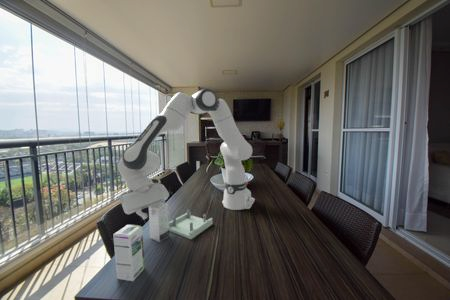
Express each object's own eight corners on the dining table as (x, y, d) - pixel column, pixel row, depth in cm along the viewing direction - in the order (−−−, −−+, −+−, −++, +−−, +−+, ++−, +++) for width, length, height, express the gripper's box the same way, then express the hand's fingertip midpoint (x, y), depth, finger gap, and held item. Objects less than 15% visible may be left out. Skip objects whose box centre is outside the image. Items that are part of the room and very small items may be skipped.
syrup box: (133, 282, 54) (130, 235, 53) (115, 279, 55) (112, 233, 54) (145, 268, 60) (143, 225, 59) (129, 265, 61) (126, 223, 60)
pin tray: (189, 216, 96) (188, 207, 96) (212, 224, 88) (212, 213, 88) (166, 229, 84) (165, 218, 83) (191, 239, 76) (190, 227, 75)
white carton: (160, 232, 81) (158, 201, 80) (169, 236, 78) (168, 204, 77) (150, 238, 77) (148, 205, 76) (159, 242, 74) (158, 208, 72)
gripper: (119, 189, 72) (135, 219, 68) (162, 178, 89) (177, 201, 85) (113, 198, 75) (129, 228, 70) (156, 186, 92) (170, 209, 88)
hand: (155, 213), depth 78 cm, fingers open, 8 cm apart
